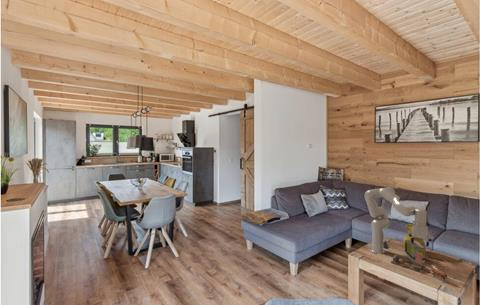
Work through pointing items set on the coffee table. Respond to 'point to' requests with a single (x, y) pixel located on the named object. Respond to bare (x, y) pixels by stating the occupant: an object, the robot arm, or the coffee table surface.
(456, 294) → the coffee table surface
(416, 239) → the pitcher
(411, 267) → the press base
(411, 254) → the tea box
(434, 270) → the bull figurine
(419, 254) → the salmon pink rectangular box
